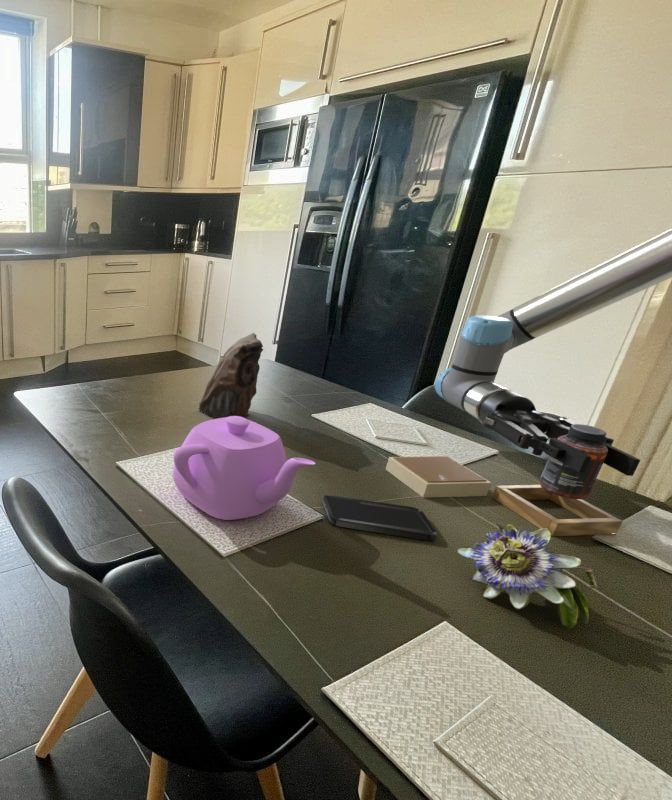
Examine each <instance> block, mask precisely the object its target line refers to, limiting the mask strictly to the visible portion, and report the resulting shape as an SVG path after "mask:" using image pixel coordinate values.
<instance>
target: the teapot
mask: <svg viewBox="0 0 672 800" xmlns="http://www.w3.org/2000/svg"><path fill="white" fill-rule="evenodd" d="M173 463H174V464H173V468H172V469H173V470H172V479H173V482H174V484H175V486H176V488H177V490H178V492H179V493H180V494H181V495H182V496H183V497H184V498H185V499H186V500H187V501H189V502H190V503H191V504H192V505H194V506H195V507H197V508H198V509H199V510H201V511H202V512H204V513H206V514H207V515H208V516H211V517H213V518H216V519H219V520H225V521H226V520H227V521H231V520H232V521H233V520H243V519H247V518H252V517H256V516H259V515H261V514H263V513H265V512H267V511H268V510H270V509H271V508H273V507H274V506H275V505H276V504H278V503H279V502H280V501H281V500H283V499H284V498H285V497H286V496H287V495H289V492H290V491H291V489H292V486H293V484H294V480H295V478H296V475H297V473H298V472H299V471H300V469H301V468H304V467H309V466H314V465H316V462H315V461H313V460H311V459H308V458H305V457H291V458H290V459H287V456H286V452H285V448H284V443H283V442H282V439H281V437H280V435H279V434H278V433H276V432H275V431H273V430H272V429H270V428H268V427H266V426H264V425H262V424H259V423H257V422H255V421H253V420H251V419H248V418H247V419H246V418H243V417H240V416H230V417H225V418H218V419H214V418H212V419H208V420H205V421H203V422H200V423H198V424H196V425H194V426H193V427H192V428H191V430H190V431H189V433H188V435H187V436H186V437H185V439H184V441H183V443H182V444H181V446H179V447H177V448H176V449H175V450H174V453H173Z"/></svg>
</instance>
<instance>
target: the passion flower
mask: <svg viewBox="0 0 672 800" xmlns="http://www.w3.org/2000/svg"><path fill="white" fill-rule="evenodd" d="M496 525H497V527H498V529H499V530H498V529H495V530H494V532H493V531H489V532H486V533H485V534H484V536H485V538H486V540H485V541H484V542H475V543H474V545H473V546H460V547H457V548H456V552H457V554H458V555H460V556H461V557H463V558H465V559H469V560H472V562H473V565H474V567H475V568H476V571H475V572H474V573H473V575H472V579H471V580H472V581H473V582H476V583H478V584H483V585H484V586H485V589H484V591H483V594H482V596H483V598H485V599H487V600H494V599H497V598H499V597H500V596H501V595H503V594H504V593H505V594H507V595H508V596H509V597H508V598H509V602H510V604H511V605H512V606H513V608H515V610H522V609H524V608H526V607H528V605H529V604H530V602H531V600H532V598H533V597H535V596H537V595H538V596H540V597H542V598H543V599H545V600H547V601H548V602H550V603H552V604H555V605H556V609H557V612H558V616H559V619H560V624H561V625H562V626H564V627H565V628H567V629H573V628H574V627H575V626H576V625H577V624H578V619H579V611H580V613H581V615H582V617H583V623H584V624H585V625H587V624H589V619H590V614H589V613H590V609H589V601H588V600H587V599H588V598H587V597H586V596H585V595H584V594H583V592H581V590H580V589H579V587H577V586H576V585H577V584H576V583H577V582H575V580H574V579H573V578H571V576H569V575H568V574H566V573H564V572H563V571H562V570H563V569H578V570H585V571H584V573H585V574H586V575H587V577H588V579H589V581H590V582H589V588H591V589H597V588H598V585H597V581H596V577H595V576H594V572H593V569H592V568H588V567H581V564H582V560H581V558H578V557H576V556H572V555H568V554H564V553H557V552H553V551H547V550H549V549H550V547H547V545H549V543H550V541H551V537H552V536H551V532H550V531H549V530H548V528H543V529H540V528H538V529H536V530H534V531H529V530H523V531H522V530H521V529H519V530H517V528H516V527H515V526H514V525H512V524H509V523H508V524H506V525H505V528H504V526H503V524H502V523H501V522H497V523H496Z"/></svg>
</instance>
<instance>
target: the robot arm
mask: <svg viewBox="0 0 672 800" xmlns="http://www.w3.org/2000/svg"><path fill="white" fill-rule="evenodd" d="M671 278H672V228H671V229H668V230H666V231H665V232H662V233H661V234H659V235H656V236H654V237H653V238H651V239H649V240H647V241H645V242H642V243H641V244H639V245H637V246H635V247H632V248H631V249H629V250H627V251H624V252H623V253H621V254H619V255H617V256H615V257H613V258H611V259H609V260H607V261H605V262H603V263H601V264H599V265H597V266H595V267H593V268H591V269H589V270H587V271H585V272H583V273H581V274H579V275H576V276H574V277H573V278H571V279H569V280H567V281H564V282H563V283H561V284H559V285H557V286H555V287H553V288H551V289H550V290H547V291H545V292H543V293H541V294H539V295H537V296H535V297H533V298H532V299H529V300H527V301H525V302H523V303H522V304H519V305H517V306H516V307H514V308H511V309H510V310H508V311H505V312H503V313H502V314H499V315H498V316H496V315H487V314H486V315H485V314H483V315H482V314H481V315H480V314H479V315H471V316H469V317H468V318H467V320H466V321H465V324H464V327H463V329H462V330H461V333H460V334H461V335H460V338H459V342H458V345H457V349H456V351H455V352H456V353H455V356H454V359H453V362H452V365H451V366H450V367H449V368H446V369H445V370H443V371H441V373H440V374H439V375H438V376H437V377H436V379H435V381H434V389H435V392H436V393H437V395H438V396H439V397H440V398H441V399H443V400H445V402H446V403H448V404H449V405H452V406H454V407H456V408H458V409H459V410H462V411H463V412H465V413H467V414H469V416H471V417H473V418H475V419H476V420H478V421H479V423H481V424H482V426H483V427H485V428H488V429H490V430H492V431H494V432H496V433H497V434H499V435H500V436H502V437H503V438H504V439H506V440H508V441H509V442H510V443H512V444H514V445H515V446H517V447H518V448H520V449H523V450H528V449H529V448H531V449H532V452H531V453H532V455H535V456H539V457H540V456H543V455H542V454H543V453H545V454H546V455H548V456H551V457H553V458H554V459H556V460H558V461H560V462H561V463H563V464H565V465H567V466H568V467H570V468H572V469H573V470H575V471H577V472H579V473H585V471H586V468H587V466H588V464H589V462H590V460H591V458H592V457H590V456H588V455H587V454H585V453H583V452H581V451H579V450H577V449H575V448H573V447H571V446H570V445H568V444H566V443H564V442H562V441H560V440H558V439H557V438H558V437H560V436H563V435H566V434H568V431H569V429H570V427H571V425H573V424H578V423H577V422H575V421H573V420H572V419H570V418H569V417H567V416H560V417H559V419H556V418H553V417H550V416H548V415H546V414H545V413H543V412H541V411H537V409H536V406H535V404H534V403H533V401H532V400H531V399H529V398H528V397H526V396H523V395H521V394H520V393H517V392H515V391H513V390H511V389H509V388H507V387H505V386H502V385H500V384H497V383H496V382H495V380H496V377H497V375H498V372H499V370H500V369H499V368H500V366H501V364H502V360H503V357H504V355H505V354H506V353H508V352H509V351H511V350H513V349H515V348H517V347H520V346H522V345H524V344H526V343H528V342H531V341H533V340H534V339H537V338H539V337H541V336H543V335H545V334H548V333H551V332H552V331H555V330H557V329H560V328H562V327H563V326H566V325H568V324H570V323H573V322H576V321H577V320H579V319H581V318H584V317H586V316H588V315H590V314H593V313H595V312H597V311H600V310H602V309H604V308H606V307H608V306H612V305H613V304H616V303H617V302H619V301H622V300H625V299H626V298H629V297H631V296H633V295H635V294H638V293H640V292H642V291H644V290H647V289H649V288H651V287H653V286H656V285H658V284H660V283H662V282H664V281H668V280H670V279H671ZM602 442H603V444H604V445H605V446H606V447H607V448H608V453H607V456H606V458H605V461H604V463H603V465H607V466H608V467H610V468H612V469H614V470H615V471H617V472H619V473H622V474H623V475H625V476H627V477H628V476H629V477H633V476H634V474H635V473H636V471H637V468H638V466H639V465H640V462H641V459H639V458H637V457H635V456H633V455H631V454H629V453H627V452H625V451H623V450H621V449H619V448H617V447H615V446H613V443H614V442H615V439H614V438H611V437H609V436H607V435H606V436H605V438H604V441H602Z"/></svg>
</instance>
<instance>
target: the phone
mask: <svg viewBox="0 0 672 800" xmlns="http://www.w3.org/2000/svg"><path fill="white" fill-rule="evenodd" d="M321 502H322V506H323V508H324V511H325V514H326V517H327V520H328V522H329V523H330V524H331V525H333V526H335V527H341V528H347V529H353V530H358V531H364V532H372V533H377V534H384V535H390V536H397V537H403V538H408V539H415V540H420V541H428V542H434V541H435V540H436V537H437V535H438V532H437V530H436V529H435V527H434V526H433V524H432V523H431V522H430V520H429V518H428V517H427V516H426V514H425V513H424V512H423V510H421V509H419V508H417V507H413V506H407V505H401V504H393V503H388V502H381V501H375V500H373V501H372V500H367V499H360V498H353V497H345V496H341V495H340V496H339V495H332V494H325V495H323V497H322V501H321Z"/></svg>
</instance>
